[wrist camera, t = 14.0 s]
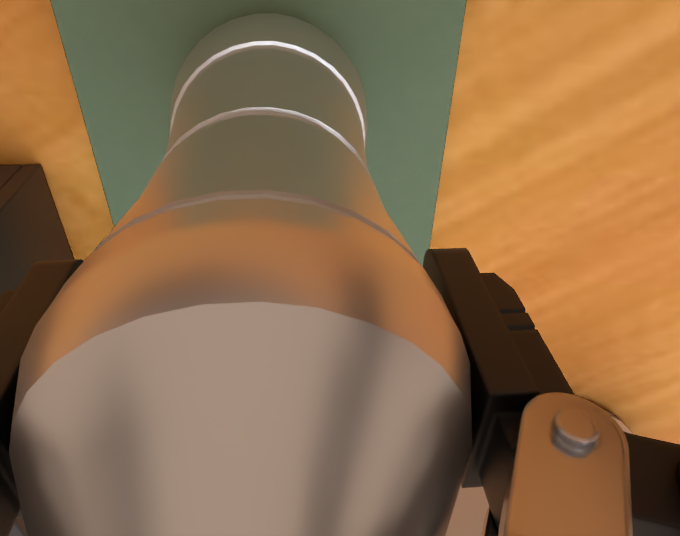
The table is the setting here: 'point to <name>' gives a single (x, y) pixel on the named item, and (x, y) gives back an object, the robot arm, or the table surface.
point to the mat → (303, 3)
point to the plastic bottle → (248, 328)
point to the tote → (27, 235)
